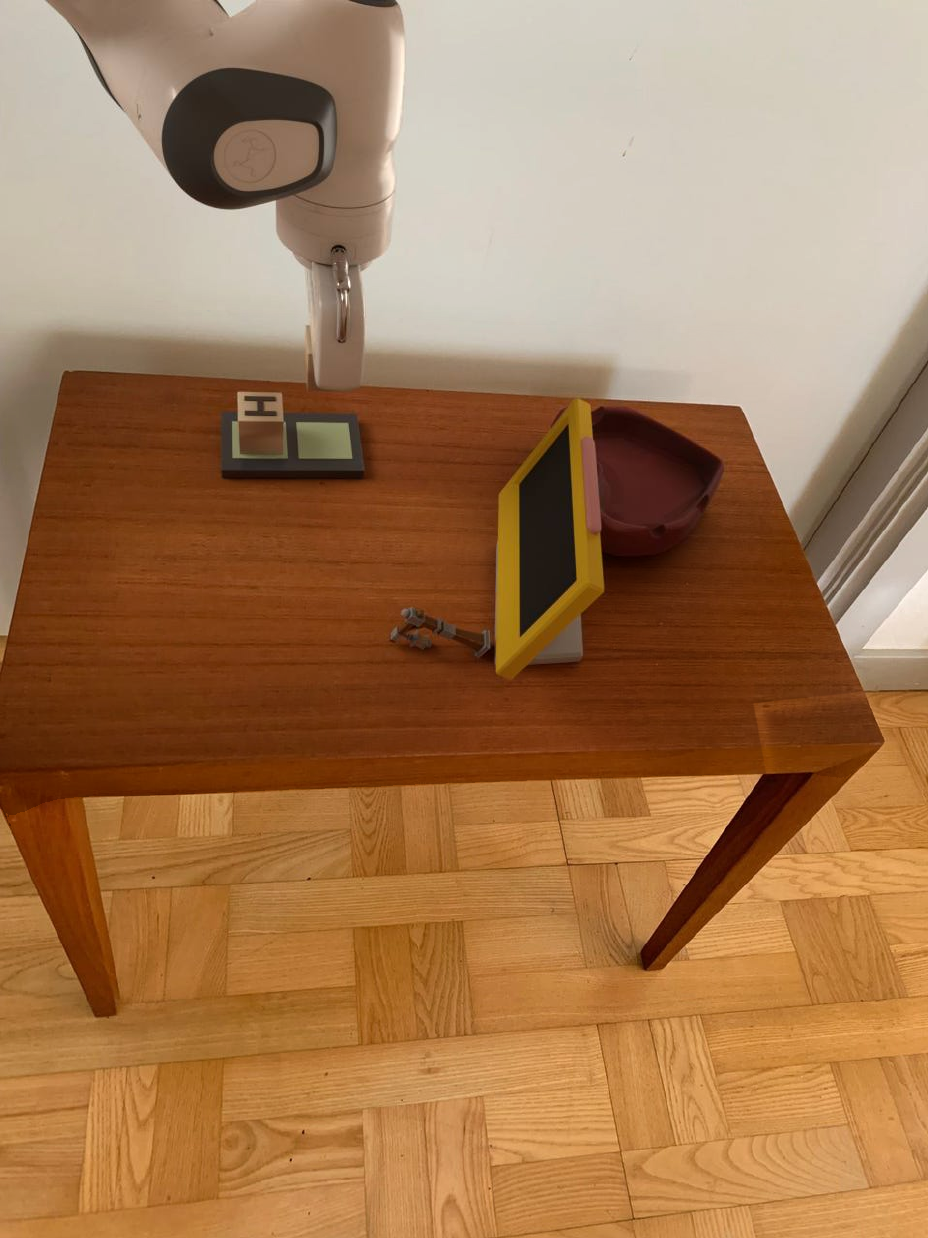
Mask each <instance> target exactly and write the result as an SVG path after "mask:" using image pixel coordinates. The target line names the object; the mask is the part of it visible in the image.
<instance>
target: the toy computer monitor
mask: <svg viewBox="0 0 928 1238" xmlns="http://www.w3.org/2000/svg"><path fill="white" fill-rule="evenodd" d="M567 407H568V408H567V409H566V410H565V411H564V413H563V414H562V415H561V416H560V418H559V419H558V420H557V421H556V423H555V424H554V425H553V426H552V428H551V427H550V428H551V429H550V428H549V430H548V432H546V434H545V435H543V438H542V439H541V440H540V442H539V443H538V444H537V445H536V446H535V448H534V449H533V450H532V452H531V453H530V454H529V455H528V456H527V458H526V459H525V460H524V461H523V463H522V464H521V465H520V467H519V468H518V469H517V470H516V472H515V473H514V474H513V475H512V476H511V478H510V479H509V481H508V482H506V484H505V486H504V487H503V488H502V489H501V491H500V492H499V493H498V501H497V502H498V503H497V504H498V509H497V512H498V514H497V515H498V516H497V541H496V544H495V547H496V548H495V549H496V550H495V602H494V605H495V606H494V608H495V609H494V653H493V654H494V655H493V657H494V658H493V659H494V661H493V663H494V666H495V674H496V675H497V676H499V677H502V678H504V679H507V680H510V681H512V680H513V679H514V678H516V676H517V675H518V674H519V673H521V672H522V671H523V670H524V669H525V668H526V667H527V666H530V665H546V664H547V665H548V664H561V663H562V664H564V663H565V664H566V663H578V662H580V661H581V660H582V657H583V655H584V647H583V630H582V613H583V612H585V611H586V610H587V609H588V608H589V607H590V606H591V605H592V604H593V603H594V602H595V601H596V600H597V599H598V598H599V597H600V596H601V595H602V594H604V593H605V581H604V580H605V579H604V568H603V554H602V553H601V539H600V532H601V515H600V502H599V490H598V477H597V464H596V451H595V442H594V440H593V434H592V421H591V412H592V410H591V404H590V403H588V402H586V401H585V400H582V399H581V398H578V397H576V398H573V400H572V401H571V402H570V404H569V405H568V406H567Z"/></svg>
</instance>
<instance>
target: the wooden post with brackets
mask: <svg viewBox="0 0 928 1238" xmlns="http://www.w3.org/2000/svg"><path fill="white" fill-rule="evenodd" d="M400 616H401V617H402V618H404V621H403V622H402V623H401V624H400V625H399V626H398V625H397V626H396V627H394V629H393V630H392V631H391V632H390V634H389V635H388V642H390V643H392V644H395V643H396V642H398V641H400V640H401V639H402V638H405V639H406V642H408V641H409V642H410V647H411V648H413V646H415V647H417V648H418V649H421V651H423V650H424V649H425V648H431V646H432V645H433V642H432V641H431V640H430V639H429V635H428V634H427V635H424V634H422V633H419V629H421V630H422V629H426V630H428V631H431V634H433V635H434V636H436V635H437V637H441V638H444V639H445V640H448V641H451V640H453V641H456V642H457V643H459V644H461V645H463V646H464V647H467V648H468V649H470V650H472V651H474V657H476V658H477V659H479V658H481V657H482V656H483V655H484V654H485V653H486V652H487V651H488V650H490V649H491V634H490V633H491V631H490V629H489V630H487V629H484V630H483V631H482V632H474V631H469V630H465V629H461V628H458V627H456V624H452V623H450V622H447V621H446V620H442V618H439V617H438V618H437V619H436V618H433V617H432V616H429V615H427V614H426V612H425V610H423V609H421V608H418V609H417V608H416V607H414V606H411V607H410V608H403V609H402V610H401V612H400ZM411 631H414V633H411ZM408 632H409V633H408Z"/></svg>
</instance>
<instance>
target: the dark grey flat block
mask: <svg viewBox="0 0 928 1238" xmlns="http://www.w3.org/2000/svg"><path fill="white" fill-rule="evenodd" d="M220 413H221V416H220V420H221V421H220V422H221V423H220V427H221V428H220V429H221V431H220V432H221V433H220V434H221V440H220V441H221V442H220V443H221V444H220V445H221V447H220V449H221V450H220V454H221V455H220V456H221V458H220V459H221V460H220V462H221V464H220V465H221V466H220V467H221V469H220V470H221V478H222V479H364V477H365V463H364V457H363V448H362V442H361V441H362V440H361V433H360V426H359V418H358V413H334V412H333V413H331V412H330V413H329V412H328V413H327V412H283V419H284V454H240V452H239V432H238V411H221V412H220Z"/></svg>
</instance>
